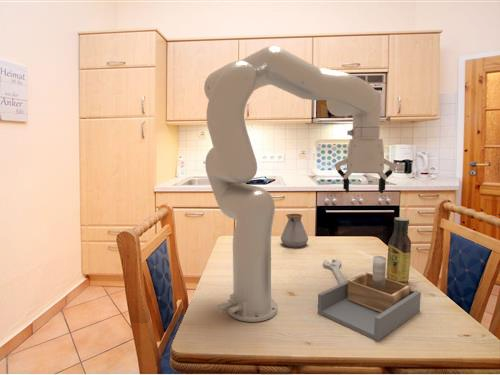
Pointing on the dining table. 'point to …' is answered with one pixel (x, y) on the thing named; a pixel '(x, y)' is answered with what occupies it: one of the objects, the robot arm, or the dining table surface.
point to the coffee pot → (294, 232)
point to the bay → (366, 312)
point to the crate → (377, 288)
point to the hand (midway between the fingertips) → (363, 192)
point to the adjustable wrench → (335, 269)
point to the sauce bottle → (399, 252)
